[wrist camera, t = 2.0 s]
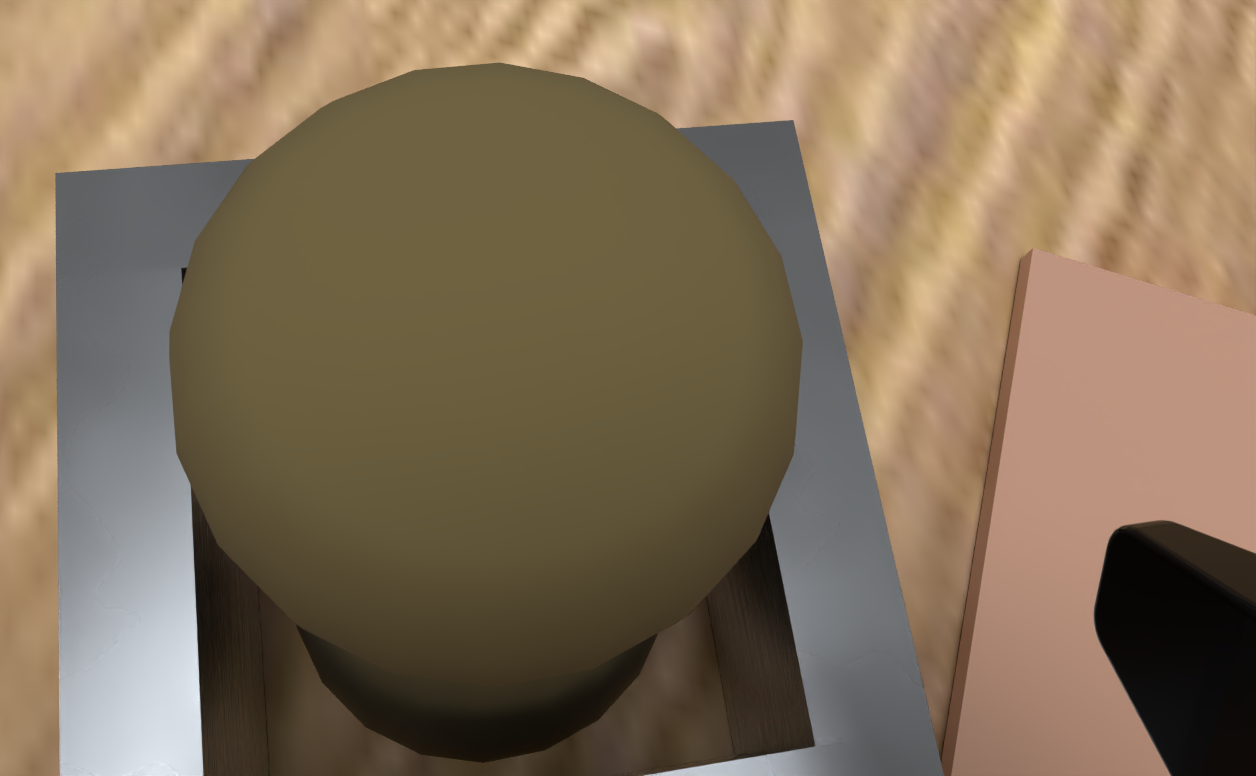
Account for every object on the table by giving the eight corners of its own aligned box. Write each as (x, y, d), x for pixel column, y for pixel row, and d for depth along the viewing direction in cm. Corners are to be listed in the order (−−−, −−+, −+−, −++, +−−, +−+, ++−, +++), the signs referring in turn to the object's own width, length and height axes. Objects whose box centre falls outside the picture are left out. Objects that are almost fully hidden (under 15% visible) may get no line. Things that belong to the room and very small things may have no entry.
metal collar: (846, 840, 18) (962, 857, 14) (168, 964, 16) (62, 1029, 12) (728, 254, 21) (793, 119, 17) (146, 307, 19) (55, 173, 15)
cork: (678, 756, 18) (960, 718, 8) (278, 769, 17) (-16, 748, 7) (662, 388, 20) (868, -39, 10) (301, 384, 19) (101, -87, 9)
